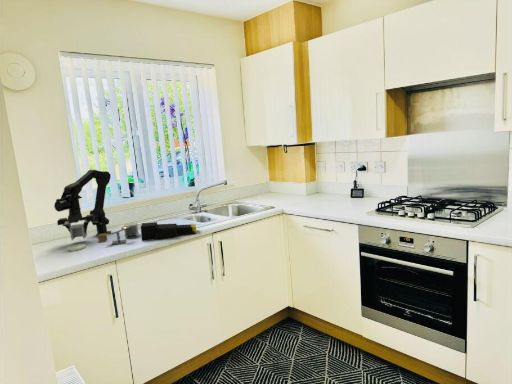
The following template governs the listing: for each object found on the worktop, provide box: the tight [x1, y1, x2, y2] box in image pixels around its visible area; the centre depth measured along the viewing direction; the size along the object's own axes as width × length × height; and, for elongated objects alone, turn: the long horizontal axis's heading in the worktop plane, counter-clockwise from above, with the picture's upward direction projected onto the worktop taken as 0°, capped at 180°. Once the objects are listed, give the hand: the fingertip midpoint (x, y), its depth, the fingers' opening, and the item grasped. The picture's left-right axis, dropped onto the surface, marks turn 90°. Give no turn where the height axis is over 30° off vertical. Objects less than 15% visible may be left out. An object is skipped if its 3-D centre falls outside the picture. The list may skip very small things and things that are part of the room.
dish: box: [66, 243, 87, 252], centre depth 197 cm, size 9×9×1 cm
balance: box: [105, 226, 130, 246], centre depth 201 cm, size 5×13×8 cm, turn 104°
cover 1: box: [69, 222, 88, 241], centre depth 209 cm, size 7×7×7 cm
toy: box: [140, 221, 197, 242], centre depth 208 cm, size 16×8×30 cm
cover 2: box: [123, 222, 140, 240], centre depth 213 cm, size 7×7×7 cm
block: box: [97, 233, 108, 243], centre depth 209 cm, size 4×4×4 cm
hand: (78, 234), depth 209 cm, fingers closed on cover 1, 7 cm apart
